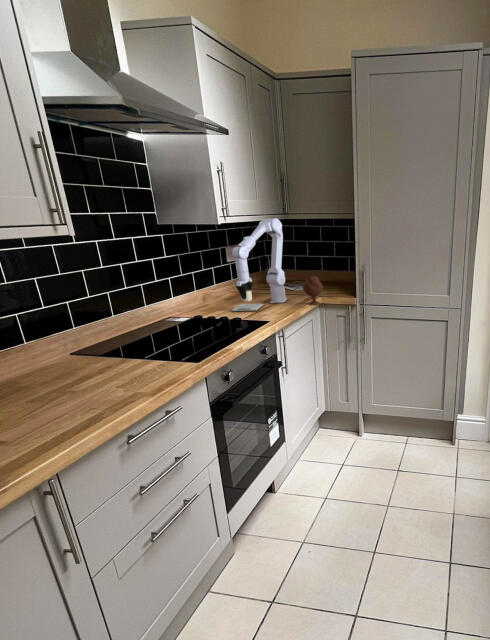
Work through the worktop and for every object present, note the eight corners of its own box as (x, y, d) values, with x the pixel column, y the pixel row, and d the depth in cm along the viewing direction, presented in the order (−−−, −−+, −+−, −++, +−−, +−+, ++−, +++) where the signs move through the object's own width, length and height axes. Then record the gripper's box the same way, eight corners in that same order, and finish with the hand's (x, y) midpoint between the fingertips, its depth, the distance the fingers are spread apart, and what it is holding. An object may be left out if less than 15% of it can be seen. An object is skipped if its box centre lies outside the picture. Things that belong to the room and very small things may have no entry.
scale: (240, 306, 238) (240, 303, 237) (264, 305, 237) (263, 303, 237) (231, 312, 225) (231, 309, 224) (256, 311, 225) (256, 309, 224)
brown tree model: (326, 301, 243) (324, 274, 237) (321, 305, 233) (319, 277, 227) (307, 301, 244) (305, 274, 238) (302, 306, 234) (299, 277, 228)
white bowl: (244, 299, 232) (242, 289, 230) (254, 299, 232) (252, 289, 230) (239, 301, 227) (238, 291, 225) (250, 301, 227) (248, 291, 225)
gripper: (244, 273, 217) (248, 300, 222) (255, 269, 230) (259, 294, 235) (230, 273, 217) (235, 300, 223) (242, 269, 231) (246, 295, 236)
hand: (246, 297), depth 229 cm, fingers closed on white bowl, 5 cm apart
